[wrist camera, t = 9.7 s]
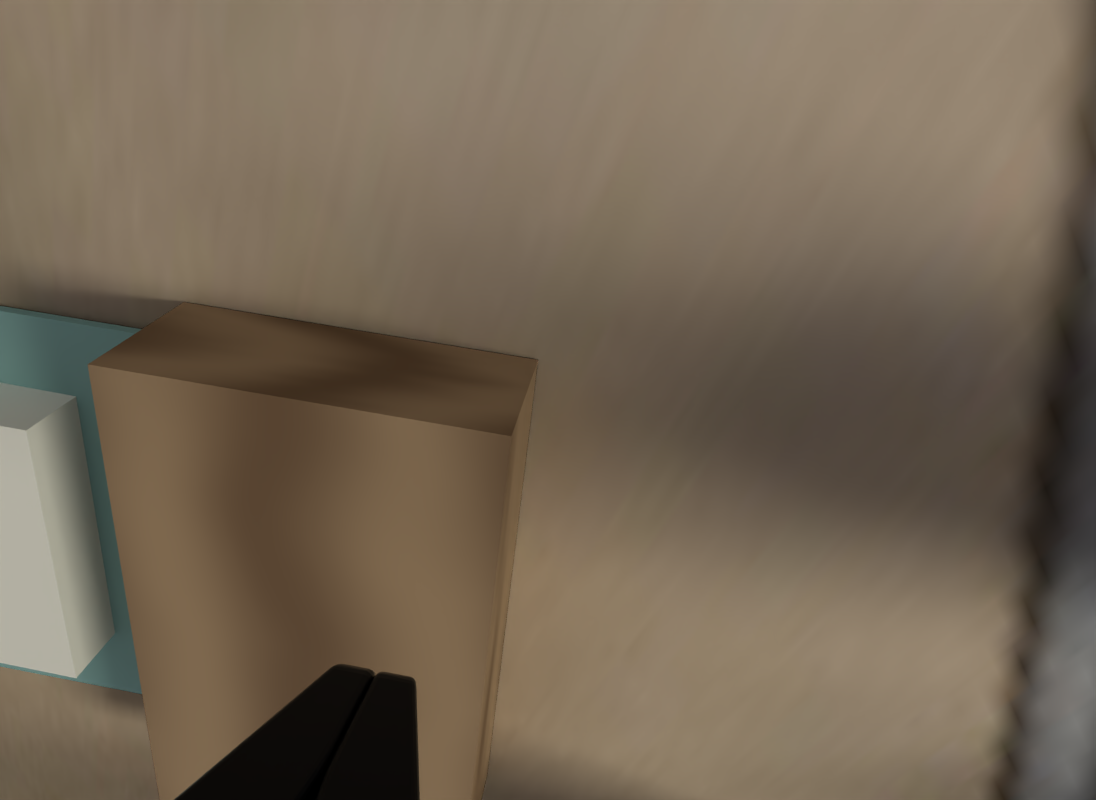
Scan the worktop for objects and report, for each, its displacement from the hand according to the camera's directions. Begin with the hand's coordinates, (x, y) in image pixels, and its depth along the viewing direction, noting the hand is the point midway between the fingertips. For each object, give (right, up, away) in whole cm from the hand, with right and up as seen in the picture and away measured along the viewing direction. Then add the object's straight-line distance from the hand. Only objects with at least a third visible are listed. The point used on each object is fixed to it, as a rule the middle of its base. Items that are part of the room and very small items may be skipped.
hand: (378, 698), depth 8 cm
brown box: (-4, -2, +16) cm, 17 cm away
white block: (-15, -1, +15) cm, 22 cm away
